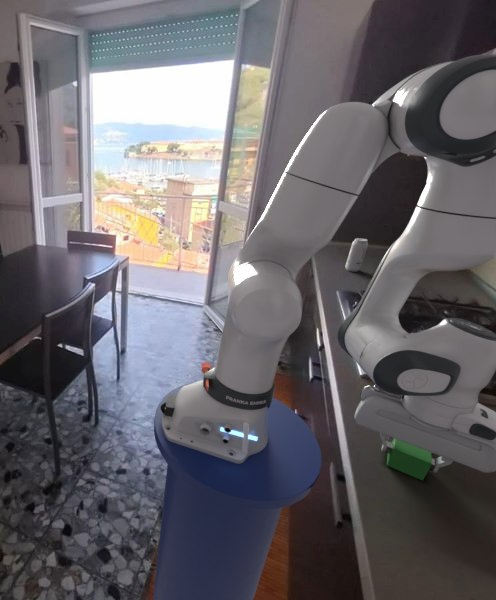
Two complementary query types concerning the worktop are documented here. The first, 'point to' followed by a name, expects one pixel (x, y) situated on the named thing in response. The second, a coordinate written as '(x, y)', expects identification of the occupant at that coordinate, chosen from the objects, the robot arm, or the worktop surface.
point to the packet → (409, 459)
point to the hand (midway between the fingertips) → (407, 459)
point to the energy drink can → (356, 254)
